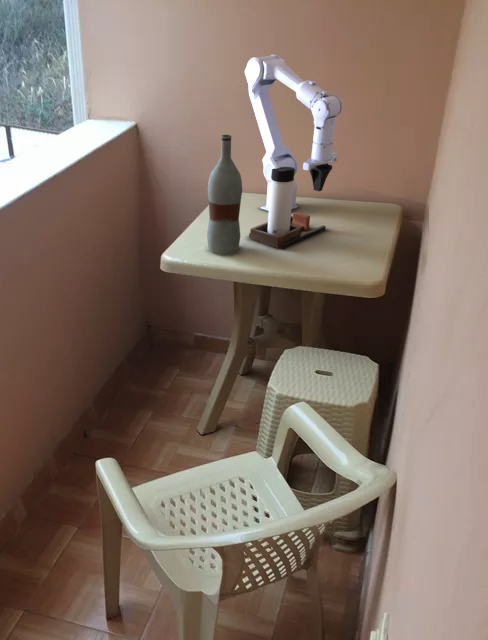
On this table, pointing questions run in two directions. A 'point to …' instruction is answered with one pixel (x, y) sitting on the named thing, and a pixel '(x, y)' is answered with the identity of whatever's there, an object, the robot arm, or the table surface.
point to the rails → (301, 236)
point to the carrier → (298, 224)
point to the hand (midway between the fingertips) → (317, 190)
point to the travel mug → (280, 200)
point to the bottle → (224, 203)
